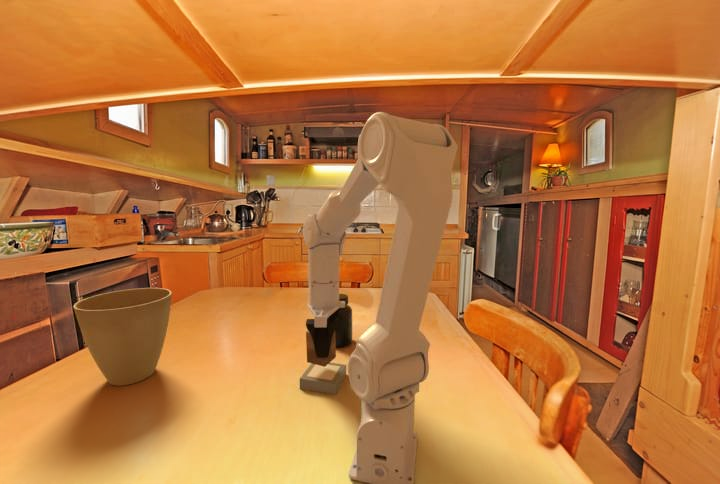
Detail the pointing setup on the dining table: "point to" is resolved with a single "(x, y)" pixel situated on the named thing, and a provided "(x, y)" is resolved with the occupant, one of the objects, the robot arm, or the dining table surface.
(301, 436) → the dining table surface
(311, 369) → the base tile
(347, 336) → the supplement bottle
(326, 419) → the dining table surface
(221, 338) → the dining table surface
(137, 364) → the plant pot
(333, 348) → the walnut block
